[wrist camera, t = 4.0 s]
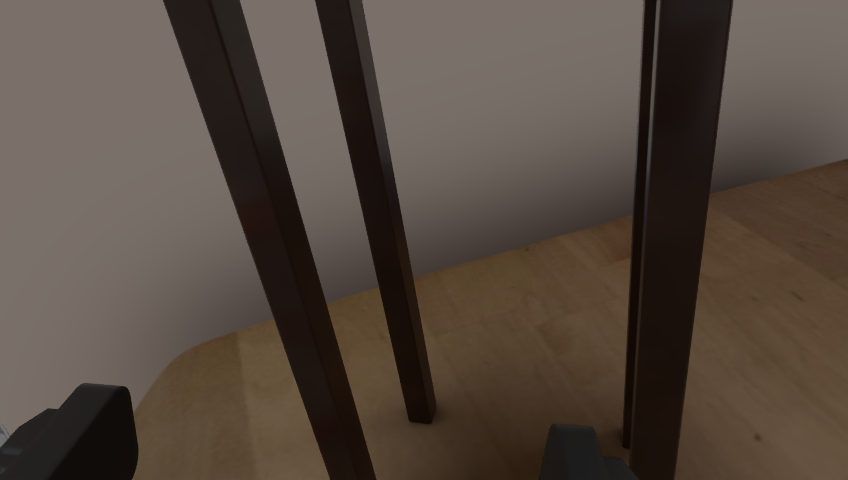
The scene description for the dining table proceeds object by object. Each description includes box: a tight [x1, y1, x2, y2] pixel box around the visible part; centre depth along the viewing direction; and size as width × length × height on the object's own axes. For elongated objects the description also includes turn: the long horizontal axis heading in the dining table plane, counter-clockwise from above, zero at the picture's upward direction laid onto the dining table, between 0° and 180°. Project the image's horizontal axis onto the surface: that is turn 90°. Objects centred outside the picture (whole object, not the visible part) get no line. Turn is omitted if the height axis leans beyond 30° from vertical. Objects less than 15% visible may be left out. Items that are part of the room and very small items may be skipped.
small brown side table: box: [163, 0, 733, 480], centre depth 24 cm, size 14×10×28 cm
